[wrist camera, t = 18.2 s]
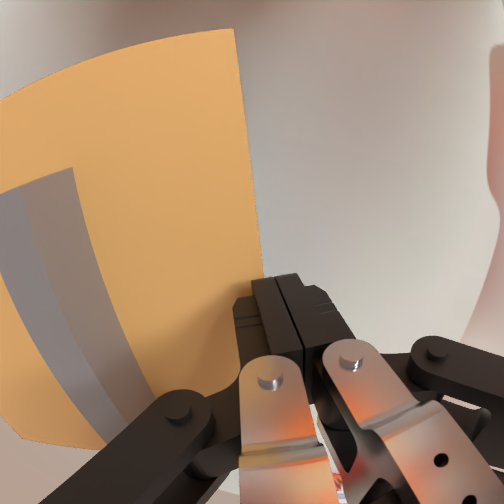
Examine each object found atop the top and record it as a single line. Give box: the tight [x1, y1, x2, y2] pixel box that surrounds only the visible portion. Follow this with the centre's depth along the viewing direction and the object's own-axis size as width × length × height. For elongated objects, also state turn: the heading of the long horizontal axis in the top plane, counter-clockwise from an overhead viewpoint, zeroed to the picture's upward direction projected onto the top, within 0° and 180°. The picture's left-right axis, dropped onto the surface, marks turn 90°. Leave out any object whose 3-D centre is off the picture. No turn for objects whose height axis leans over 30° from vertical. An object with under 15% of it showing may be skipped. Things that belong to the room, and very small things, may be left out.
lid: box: [0, 28, 264, 450], centre depth 9 cm, size 18×18×4 cm
